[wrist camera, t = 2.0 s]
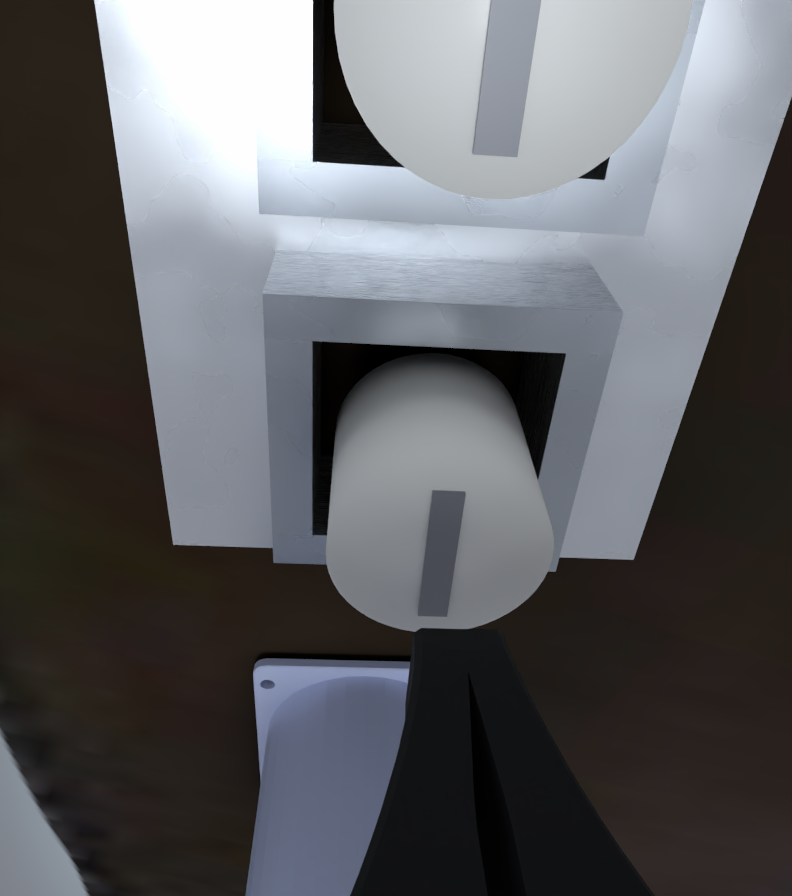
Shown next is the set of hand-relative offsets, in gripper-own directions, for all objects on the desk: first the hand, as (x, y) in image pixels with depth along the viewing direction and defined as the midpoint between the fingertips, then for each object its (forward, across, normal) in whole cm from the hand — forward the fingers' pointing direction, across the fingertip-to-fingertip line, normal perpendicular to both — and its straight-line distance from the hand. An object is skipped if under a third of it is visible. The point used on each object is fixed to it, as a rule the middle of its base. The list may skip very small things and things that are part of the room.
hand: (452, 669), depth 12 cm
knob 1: (+7, 0, -9) cm, 11 cm away
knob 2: (+7, 0, 0) cm, 7 cm away
